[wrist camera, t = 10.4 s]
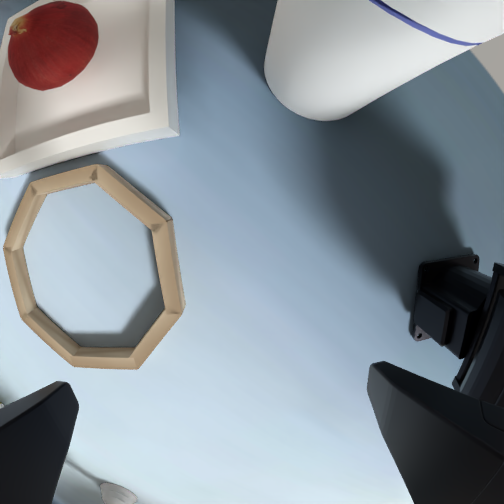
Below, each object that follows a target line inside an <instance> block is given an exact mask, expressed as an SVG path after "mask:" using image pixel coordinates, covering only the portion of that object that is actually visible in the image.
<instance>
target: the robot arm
mask: <svg viewBox="0 0 504 504" xmlns="http://www.w3.org/2000/svg"><path fill="white" fill-rule="evenodd" d="M474 259H475V260H474ZM425 267H427V269H426V271H424V269H425ZM478 269H479V256H478V255H476V254H470V255H464V256H458V257H451V258H445V259H439V260H433V261H426V262H423V263H421V265H420V266H419V276H418V289H417V294H416V304H415V313H414V326H413V334H412V337H413V339H414V340H415V341H421V340H425V339H429V338H432V339H433V340H435V341H436V342H437V343H438V344H439V345H440V346H445V347H446V348H447V349H449V350H450V351H451V352H452V353H453V354H454V355H455V356H457V357H458V358H459V359H463V358H464V361H463V363H462V365H461V367H460V370H459V372H458V374H457V376H455V378H454V380H453V382H452V385H453V387H454V389H455V390H453V389H451V388H448V387H446V386H443V385H441V384H438V383H436V382H433V381H431V380H428V379H426V378H424V377H421V376H419V375H416V374H414V373H411V372H409V371H407V370H404V369H402V368H400V367H397V366H395V365H393V364H390V363H388V362H386V361H381V362H377V363H373V364H371V365H370V368H369V375H368V383H367V392H368V396H369V398H370V401H371V404H372V407H373V410H374V413H375V416H376V419H377V422H378V425H379V428H380V430H381V433H382V436H383V438H384V440H385V442H386V444H387V446H388V448H389V450H390V453H391V455H392V457H393V459H394V461H395V463H396V465H397V467H398V469H399V472H400V474H401V476H402V478H403V480H404V482H405V484H406V487H407V489H408V491H409V493H410V495H411V498H412V500H413V502H414V504H504V264H501V263H496V262H494V267H493V271H494V272H493V276H492V278H491V277H489V276H487V275H485V274H482V273H480V272H478ZM419 333H420V334H419ZM418 334H419V335H418ZM417 335H418V336H417ZM78 410H79V404H78V401H77V399H76V397H75V394H74V392H73V390H72V388H71V386H70V384H69V383H67V382H62V381H56V382H54V383H52V384H50V385H48V386H46V387H44V388H42V389H40V390H38V391H36V392H34V393H32V394H30V395H28V396H26V397H23V398H21V399H19V400H17V401H15V402H13V403H11V404H9V405H7V406H5V407H3V408H0V504H52V500H53V497H54V493H55V490H56V486H57V483H58V480H59V477H60V473H61V470H62V467H63V464H64V461H65V458H66V455H67V452H68V449H69V446H70V442H71V438H72V434H73V430H74V426H75V422H76V418H77V414H78Z"/></svg>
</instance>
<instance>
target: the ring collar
mask: <svg viewBox="0 0 504 504" xmlns="http://www.w3.org/2000/svg"><path fill="white" fill-rule="evenodd" d="M91 183H96V184H97V185H98V186H99V187H101V188H102V189H103V190H104V191H105V192H106V193H108V194H109V195H110V196H111V197H112V198H114V199H115V200H116V201H117V202H118V203H119V204H121V205H122V206H123V207H124V208H125V209H127V210H128V211H129V212H130V213H131V214H133V215H134V216H135V217H136V218H137V219H139V220H140V221H141V222H142V223H143V224H145V225H146V226H147V227H148V228H150V229H151V230H152V236H153V242H154V249H155V255H156V261H157V267H158V273H159V278H160V284H161V289H162V294H163V300H164V305H165V309H164V310H163V311H162V312H161V314H160V315H159V316H158V318H157V319H156V320H155V322H154V323H153V324H152V326H151V327H150V328H149V330H148V331H147V332H146V334H145V335H144V336H143V338H142V339H141V340H140V342H139V343H138V344H137V346H136V347H128V348H109V347H81V346H79V345H78V344H77V343H76V342H75V341H74V340H72V339H71V338H70V337H69V336H68V335H67V334H65V333H64V332H63V331H62V330H61V329H60V328H59V327H58V326H56V325H55V324H54V323H53V322H52V321H51V320H50V319H49V318H48V317H47V316H46V315H45V314H44V313H43V312H42V311H41V310H40V309H39V308H38V307H37V305H36V301H35V298H34V294H33V290H32V286H31V282H30V278H29V274H28V270H27V265H26V261H25V256H24V251H23V246H24V243H25V241H26V238H27V236H28V234H29V231H30V229H31V227H32V225H33V222H34V220H35V218H36V216H37V214H38V212H39V210H40V208H41V206H42V204H43V202H44V200H45V198H46V196H47V194H50V193H54V192H58V191H62V190H66V189H70V188H74V187H78V186H83V185H87V184H91ZM3 247H4V248H3V250H4V256H5V260H6V265H7V270H8V274H9V278H10V282H11V286H12V290H13V294H14V297H15V301H16V304H17V308H18V311H19V314H20V317H21V318H22V320H23V321H24V322H25V323H26V324H27V325H28V326H29V327H30V328H31V329H32V330H33V331H34V332H35V333H36V334H37V335H38V336H39V337H40V338H41V339H42V340H43V341H44V342H45V343H46V344H47V345H49V346H50V347H51V348H52V349H53V350H54V351H55V352H56V353H58V354H59V355H60V356H61V357H62V358H63V359H65V360H66V361H67V362H68V363H69V364H71V365H72V366H74V367H83V368H101V369H139V368H140V366H141V365H142V364H143V363H144V361H145V360H146V359H147V358H148V356H149V355H150V354H151V352H152V351H153V350H154V349H155V347H156V346H157V345H158V344H159V342H160V341H161V340H162V339H163V337H164V336H165V335H166V334H167V332H168V331H169V330H170V329H171V327H172V326H173V325H174V324H175V323H176V321H177V320H178V319H179V318H180V316H181V315H182V313H183V310H184V308H185V305H186V303H185V297H184V292H183V286H182V280H181V274H180V267H179V261H178V254H177V248H176V241H175V233H174V226H173V219H171V217H170V216H169V215H168V214H166V213H165V212H164V211H163V210H161V209H160V208H159V207H158V206H157V205H155V204H154V203H153V202H152V201H150V200H149V199H148V198H147V197H145V196H144V195H143V194H142V193H141V192H139V191H138V190H137V189H136V188H134V187H133V186H132V185H131V184H130V183H128V182H127V181H126V180H125V179H124V178H122V177H121V176H120V175H119V174H117V173H116V172H115V171H114V170H113V169H111V168H110V167H109V166H108V165H102V164H94V165H90V166H86V167H82V168H78V169H74V170H70V171H67V172H63V173H60V174H56V175H53V176H49V177H46V178H42V179H39V180H36V181H33V182H31V183H30V184H29V186H28V188H27V190H26V192H25V194H24V196H23V199H22V201H21V203H20V205H19V208H18V210H17V212H16V215H15V217H14V219H13V222H12V224H11V227H10V230H9V232H8V235H7V237H6V240H5V243H4V246H3Z"/></svg>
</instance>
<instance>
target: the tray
mask: <svg viewBox="0 0 504 504" xmlns="http://www.w3.org/2000/svg"><path fill="white" fill-rule="evenodd" d="M54 1H67V2H72V3H76V4H80V5H82V6H84V7H85V8H86V9H88V11H89V12H90V13H91V15H92V16H93V17H94V19H95V21H96V23H97V25H98V35H99V39H98V45H97V48H96V51H95V53H94V56H93V58H92V59H91V61H90V62H89V63H88V65H87V66H86V68H85V69H84V70H83V71H82V72H81V73H80V74H78V75H77V76H76V77H75V78H74V79H73V80H71V81H70V82H68V83H66V84H65V85H63V86H61V87H58V88H54V89H49V90H45V91H40V90H35V89H32V88H29V87H26V86H24V85H23V84H21V83H19V82H18V81H17V79H16V78H15V76H14V74H13V72H12V70H11V68H10V66H9V62H8V45H9V41H10V37H11V35H8V34H9V30H10V26H11V24H12V23H13V21H14V20H15V19H16V18H18V17H20V16H23V15H25V14H27V13H28V12H30V11H31V10H33V9H34V8H36V7H39V6H41V5H44V4H47V3H50V2H54ZM176 136H180V130H179V116H178V101H177V82H176V58H175V0H39V1H37V2H35V3H33V4H32V5H30V6H28V7H27V8H25V9H23V10H21V11H20V12H18V13H17V14H15V15H13V16H12V17H10V18H9V19H8V21H7V24H6V28H5V31H4V35H3V39H2V43H1V48H0V178H15V177H18V176H21V175H24V174H27V173H29V172H32V171H35V170H38V169H41V168H45V167H48V166H51V165H54V164H57V163H61V162H64V161H68V160H71V159H75V158H78V157H82V156H86V155H89V154H93V153H97V152H101V151H106V150H110V149H114V148H118V147H123V146H128V145H132V144H137V143H142V142H147V141H153V140H158V139H164V138H170V137H176Z"/></svg>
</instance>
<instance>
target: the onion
mask: <svg viewBox="0 0 504 504" xmlns="http://www.w3.org/2000/svg"><path fill="white" fill-rule="evenodd" d="M8 35H11V37H10V41H9V45H8V62H9V66H10V68H11V70H12V72H13V74H14V76H15V78H16V79H17V81H18V82H19V83H21V84H23V85H24V86H26V87H29V88H32V89H35V90H40V91H45V90H49V89H54V88H58V87H61V86H63V85H65V84H66V83H68V82H70V81H71V80H73V79H74V78H75V77H76V76H77V75H78V74H80V73H81V72H82V71H83V70H84V69H85V68H86V66H87V65H88V63H89V62H90V61H91V59H92V58H93V56H94V53H95V51H96V48H97V45H98V39H99V35H98V25H97V23H96V21H95V19H94V17H93V16H92V15H91V13H90V12H89V11H88V9H86V8H85V7H84V6H82V5H80V4H76V3H72V2H67V1H54V2H50V3H47V4H44V5H41V6H39V7H36V8H34V9H33V10H31V11H30V12H28V13H27V14H25V15H23V16H20V17H18V18H16V19H15V20H14V21H13V23H12V24H11V26H10V30H9V34H8Z"/></svg>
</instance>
